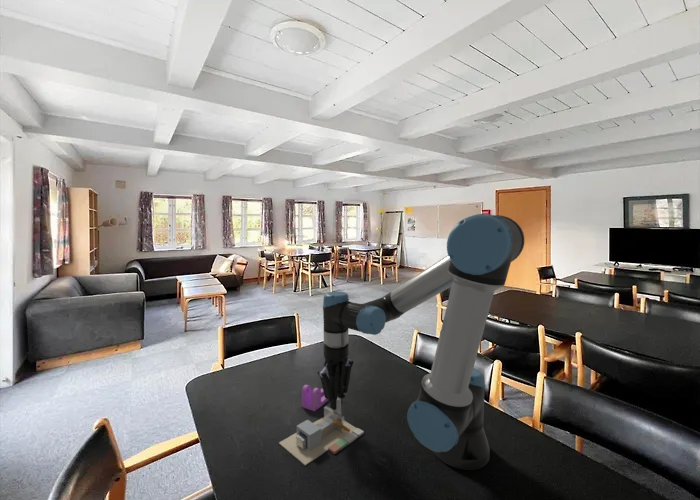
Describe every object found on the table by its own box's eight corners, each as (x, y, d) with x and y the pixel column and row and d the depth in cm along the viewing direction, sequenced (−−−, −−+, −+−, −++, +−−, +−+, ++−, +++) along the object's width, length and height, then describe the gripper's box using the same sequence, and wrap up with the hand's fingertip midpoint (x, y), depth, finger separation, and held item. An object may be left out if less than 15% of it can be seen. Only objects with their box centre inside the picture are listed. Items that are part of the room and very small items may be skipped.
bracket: (314, 411, 106) (314, 391, 105) (301, 407, 109) (301, 387, 108) (336, 394, 117) (336, 375, 116) (323, 390, 120) (323, 372, 119)
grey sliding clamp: (354, 437, 92) (354, 422, 92) (318, 462, 82) (318, 445, 82) (326, 420, 100) (326, 406, 100) (291, 440, 91) (290, 425, 90)
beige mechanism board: (363, 433, 95) (363, 417, 94) (311, 470, 80) (310, 452, 80) (330, 413, 105) (330, 399, 104) (278, 443, 90) (278, 427, 90)
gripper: (342, 334, 103) (343, 404, 105) (311, 345, 94) (312, 421, 96) (359, 340, 98) (359, 413, 100) (328, 353, 89) (328, 433, 91)
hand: (336, 417), depth 98 cm, fingers closed
